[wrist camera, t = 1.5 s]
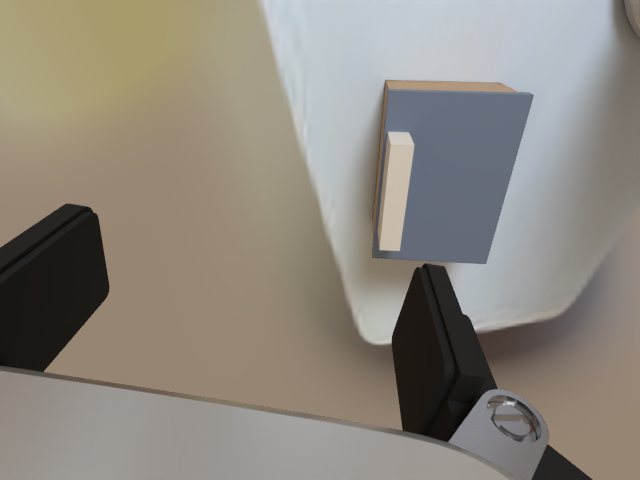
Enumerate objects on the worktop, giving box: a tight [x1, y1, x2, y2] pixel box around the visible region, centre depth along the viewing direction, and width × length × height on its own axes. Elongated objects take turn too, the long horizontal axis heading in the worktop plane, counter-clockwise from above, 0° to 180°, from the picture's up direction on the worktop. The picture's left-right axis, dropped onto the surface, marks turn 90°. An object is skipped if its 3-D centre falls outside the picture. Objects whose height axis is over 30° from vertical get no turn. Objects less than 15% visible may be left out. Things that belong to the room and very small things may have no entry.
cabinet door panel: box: [372, 89, 534, 264], centre depth 28 cm, size 9×13×4 cm
